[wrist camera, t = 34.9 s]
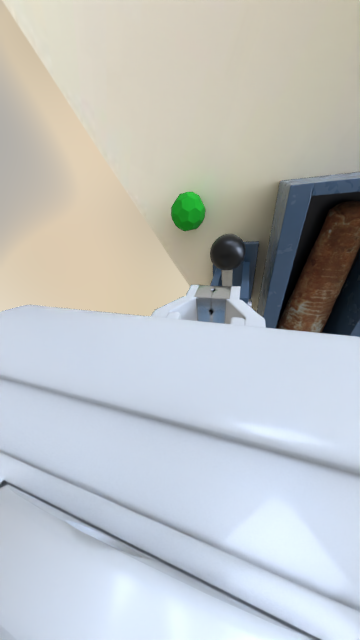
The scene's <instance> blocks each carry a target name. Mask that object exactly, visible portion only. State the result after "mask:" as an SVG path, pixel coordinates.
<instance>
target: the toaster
mask: <svg viewBox="0 0 360 640" xmlns="http://www.w3.org/2000/svg"><path fill="white" fill-rule="evenodd" d="M348 201H360V172H354V173H345V174H336V175H327V176H318V177H309V178H300V179H291V180H282V181H280V184H279V190H278V195H277V201H276V206H275V212H274V218H273V223H272V229H271V234H270V240H269V246H268V251H267V257H266V262H265V268H264V274H263V279H262V285H261V290H260V296H259V302H258V307H257V313H258V314H259V315H260V316H262V317H263V318H264V319H265V325H266V328H274V329H277V324H278V322H279V320H280V317H281V315H282V313H283V311H284V309H285V307H286V304H287V302H288V300H289V298H290V296H291V294H292V292H293V290H294V288H295V286H296V283H297V281H298V278H299V276H300V274H301V272H302V270H303V267H304V265H305V263H306V261H307V258H308V256H309V254H310V251H311V249H312V247H313V246H314V244H315V241H316V240H317V238H318V235H319V233H320V231H321V229H322V226H323V224H324V222H325V219H326V216H327V214H328V212H329V210H330V209H331V208H333V207H335V206H336V205H338V204H340V203H342V202H348ZM321 333H326V334H336V335H347V336H357V337H360V247H359V249H358V252H357V254H356V256H355V259H354V261H353V264H352V266H351V269H350V271H349V273H348V275H347V278H346V280H345V282H344V284H343V286H342V288H341V291H340V293H339V295H338V297H337V299H336V301H335V303H334V305H333V307H332V311H331V313H330V315H329V317H328V320H327V322H326V324H325V326H324V328H323V330H322V332H321Z"/></svg>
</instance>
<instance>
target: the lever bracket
mask: <svg viewBox="0 0 360 640" xmlns="http://www.w3.org/2000/svg"><path fill="white" fill-rule="evenodd" d="M244 244H245V247H246V254H245V258H244V260H243V262H242V263H241V264H240V265H239V266H238V267H237V268H235V269H233V286H240V298H239V300H242V301H244V302H245V303H246V304H247V305H248V306H250V307H251V304H252V301H250V300H249V299H251V295H252V288H253V281H254V274H255V267H256V261H257V254H258V247H259V241H251V242H244ZM210 286H222V270H220V269H218V268H217V267H216V266H215V265H214V264H213V279H212V282H211V285H210Z"/></svg>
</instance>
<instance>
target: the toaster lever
mask: <svg viewBox="0 0 360 640" xmlns="http://www.w3.org/2000/svg"><path fill="white" fill-rule="evenodd" d="M245 254H246V247H245V244H244V242H243V240H242V239H241V238H240V237H238V236H236V235H234V234H226V235H223V236H221V237H219V238H218V239H217V240H216V241H215V242H214V243H213V245H212V247H211V251H210V257H211V260H212V262H213V264H214V265H215V266H216V267H217V268H218V269H220V270H222V286H231V287H232V286H233V269H235V268H237V267H238V266H239V265H240V264H241V263H242V262H243V260H244V258H245Z"/></svg>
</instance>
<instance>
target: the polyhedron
mask: <svg viewBox="0 0 360 640" xmlns="http://www.w3.org/2000/svg"><path fill="white" fill-rule="evenodd" d="M171 216H172V220H173V221H174V223H175V225H176V226H177V227H178V228H179V229H181V230H183V231H188V230H192V229H196V228H198V227H199V225H200V224H201V223H202V221H203V220H204V217H205V207H204V205H203V203H202V201H201V199H200V197H199V195H197V194H195V193H193V192H186V193H183V194H180V195H179V196H178V198H177V199H176V201H175V202H174V204H173V206H172V207H171Z"/></svg>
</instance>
